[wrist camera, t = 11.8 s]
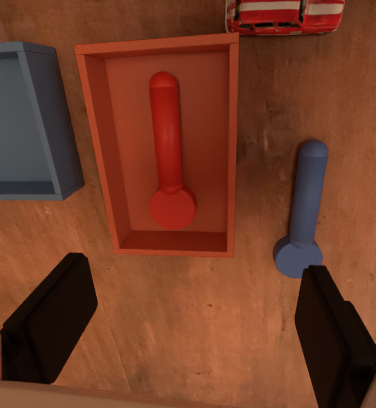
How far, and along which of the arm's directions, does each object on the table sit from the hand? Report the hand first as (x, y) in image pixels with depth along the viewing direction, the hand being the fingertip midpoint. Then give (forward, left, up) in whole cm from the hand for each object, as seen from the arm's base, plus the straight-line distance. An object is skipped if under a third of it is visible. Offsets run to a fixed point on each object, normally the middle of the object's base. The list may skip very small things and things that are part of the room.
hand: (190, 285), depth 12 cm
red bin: (-2, -3, -15) cm, 16 cm away
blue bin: (-5, -21, -15) cm, 27 cm away
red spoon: (-2, -3, -15) cm, 15 cm away
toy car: (-13, +5, -15) cm, 20 cm away
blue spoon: (+4, +9, -15) cm, 18 cm away
